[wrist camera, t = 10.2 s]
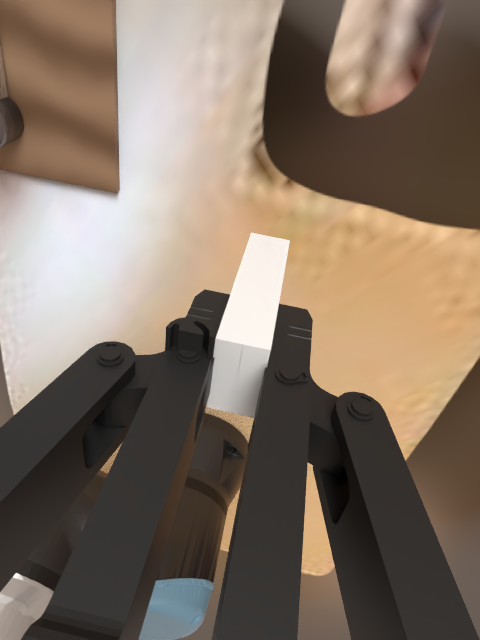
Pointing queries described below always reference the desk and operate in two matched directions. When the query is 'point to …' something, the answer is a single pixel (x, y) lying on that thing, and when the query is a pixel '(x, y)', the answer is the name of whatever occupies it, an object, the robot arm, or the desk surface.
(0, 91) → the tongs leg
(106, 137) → the board
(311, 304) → the desk surface
